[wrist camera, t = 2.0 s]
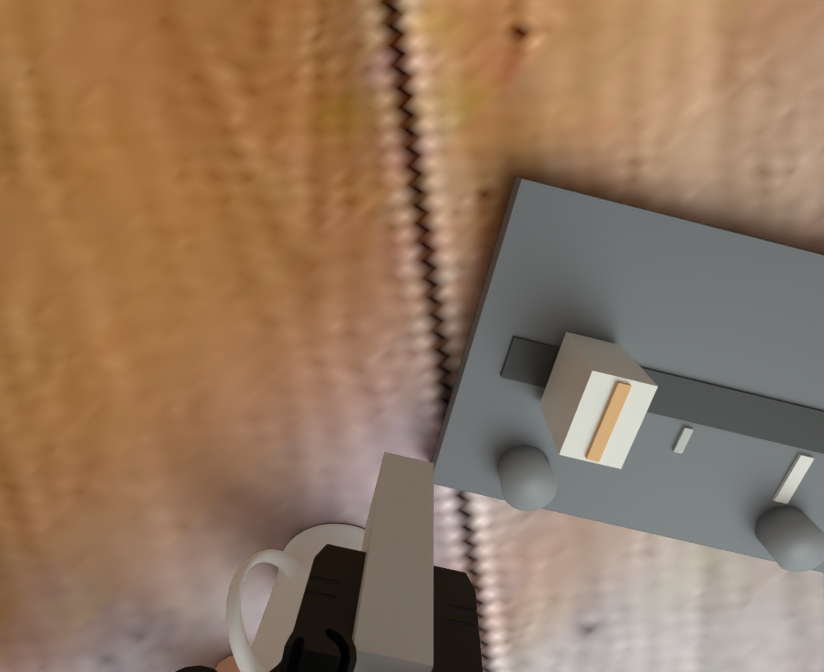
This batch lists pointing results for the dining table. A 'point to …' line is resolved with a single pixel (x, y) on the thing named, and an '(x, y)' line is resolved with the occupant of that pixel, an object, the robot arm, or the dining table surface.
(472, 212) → the dining table surface
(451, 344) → the dining table surface
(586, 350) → the fader tab
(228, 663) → the pepper shaker
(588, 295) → the console board
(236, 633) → the mug
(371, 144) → the dining table surface
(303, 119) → the dining table surface
